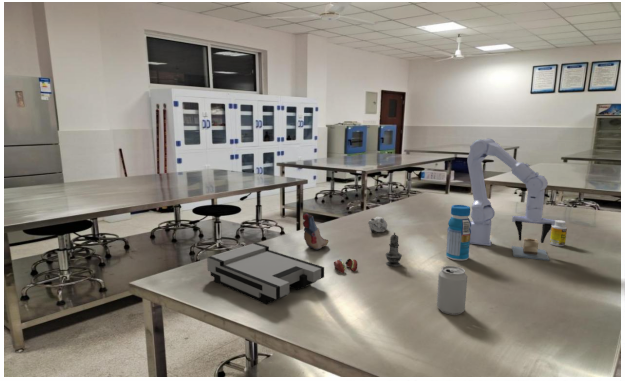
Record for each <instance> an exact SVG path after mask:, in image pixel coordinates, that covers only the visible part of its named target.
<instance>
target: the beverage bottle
mask: <svg viewBox="0 0 625 381" xmlns="http://www.w3.org/2000/svg"><path fill="white" fill-rule="evenodd" d="M450 209H451V210H450V214H451V217H450V218H449V220H448V223H447V225H448V227H447V229H446V230H447V235H446V252H445V256H446V257H447V259H449V260H453V261H460V262H461V261H462V262H463V261H467V260H468V259H469V257H470V235H471V229H470V227H471V222H470V221H471V220H470V218H469V217H471V206H468V205H464V204H452V205H451V207H450Z"/></svg>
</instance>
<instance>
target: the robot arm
mask: <svg viewBox="0 0 625 381" xmlns="http://www.w3.org/2000/svg"><path fill="white" fill-rule="evenodd" d="M488 156H490V157H491V156H492V157H496V158H498V159H499V160H500V161H501V162H503V163H504V164H505V165H506V166H508V167H509V168H510V169H511V174H513V175H514V176H515V178H517V179H519V181H521V182H522V183H523V184H524V185H525V188H526V190H527V196H526V204H525V215H524V216H523V215H521V216H519V215H512V218H511V222H513V223H515V227H516V230H517V234H518V241H520V242H521V241H522V232H523V226H524V225H523V223H527V224H537V225H542V226H541V227H542V228H541V237H540V243H541V244H543V243H544V242H545V239H546V237H547V235H548V234H549V232H551V231H550V230H551V229H552V226H555V220H556V219H552V218H551V219H550V218H544V217H543V211H544V202H545V193H546V192H545V189H546V188H547V187H548V185H549V184H548V179H547V178H546V177H545V175H541V174H540V173H539V172H537V171H535V170H534V169H532V168H530V164H529V163H527V162H526V163H525V162H523V161H521V162H519V161H517V160H516V159H515V158H514V157H513V156H512V155H511V154H510V153H509V152H508V151H506V149H504V148H503V147H502V146H501V145H500V144H499V143H498V142H496V140H494V139H492V138H481V139H480V138H479V139H476V140H475V141H473V142H472V144H471V145H469V153H468V156H467V159H466V160H467V161H466V162H467V168H468V173H469V179H470V184H471V185H470V186H471V191H472V196H473V203H472V205H471V211H470V218H471V220H472V221H471V220H470V222H471V227H470V229H471V235H470V244H471V245H480V246H488V247H489V246H492V241H491V231H492V219H493V218H494V217H495V214H496V212H495V209H494V208H493V206H492V202H490V200H489V198H488V194H487V188H486V187H487V186H486V184H485V183H486V182H485V176H484V170H483V164H482V162H484V160H485V159H486V157H488Z"/></svg>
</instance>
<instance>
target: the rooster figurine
mask: <svg viewBox="0 0 625 381" xmlns="http://www.w3.org/2000/svg"><path fill="white" fill-rule="evenodd" d="M302 218H303V219H304V221H303V222H302V225H303V227H304V229H303V231H304V233H303V239H304V241H305V244H306V246H308V248H310V249H314V250H316V251H317V250H320V249H322V247H325V246H327V245H328V243H329V240H328V239H325V238H324V237H323V236H321V232H320V228H319V227H317V225H316V222H315V219H314V216H313V215H312V214H309V213H308V212H305V213H304V214H303V215H302Z"/></svg>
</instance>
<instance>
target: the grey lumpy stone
mask: <svg viewBox="0 0 625 381" xmlns="http://www.w3.org/2000/svg"><path fill="white" fill-rule="evenodd" d="M367 222H368V223H367V224H368V227H369V230H370V231H371V232H376V233H385V231H386V230H387V229H388V223H387V220H385V219H384V217H383V216H375V217H374V218H371V219H369V220H368V221H367Z"/></svg>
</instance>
